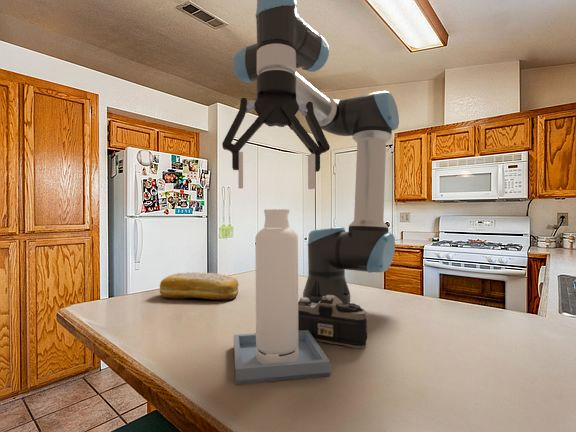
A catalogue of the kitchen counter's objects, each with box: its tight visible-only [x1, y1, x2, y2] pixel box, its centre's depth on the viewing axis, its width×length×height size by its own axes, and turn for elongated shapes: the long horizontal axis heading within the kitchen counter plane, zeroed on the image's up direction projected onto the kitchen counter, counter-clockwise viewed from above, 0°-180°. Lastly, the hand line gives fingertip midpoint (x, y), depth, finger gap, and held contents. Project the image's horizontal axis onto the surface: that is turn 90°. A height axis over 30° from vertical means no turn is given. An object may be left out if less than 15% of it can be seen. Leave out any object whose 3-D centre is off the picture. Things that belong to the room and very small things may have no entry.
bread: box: [159, 271, 240, 302], centre depth 114 cm, size 13×26×8 cm, turn 84°
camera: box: [298, 295, 368, 350], centre depth 76 cm, size 16×10×10 cm, turn 65°
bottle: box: [255, 208, 299, 364], centre depth 64 cm, size 8×8×28 cm
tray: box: [233, 330, 331, 385], centre depth 64 cm, size 16×16×2 cm
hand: (276, 188), depth 64 cm, fingers open, 13 cm apart
